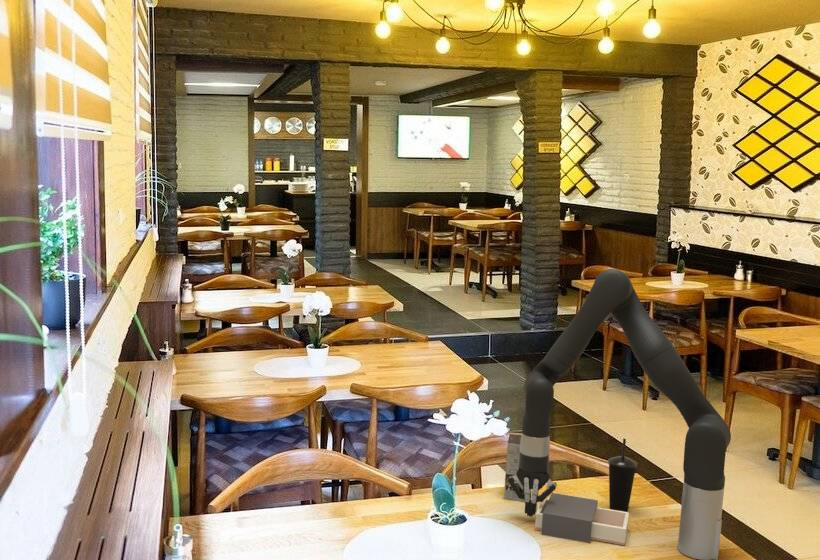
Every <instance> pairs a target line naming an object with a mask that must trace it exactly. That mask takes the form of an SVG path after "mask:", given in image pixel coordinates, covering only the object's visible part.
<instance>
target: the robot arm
mask: <svg viewBox="0 0 820 560" xmlns="http://www.w3.org/2000/svg"><path fill="white" fill-rule="evenodd" d="M610 314H611V315H612V316H613V317H614V319H615V320H616V322H617V323H618V325H619V326H620V328H621V330H622V331H623V334H624V335H625V337H626V340H627V342H628V345H629V346H630V347H629V348H630V349H631V351H632V354H633V355H634V357H635V358H636V361H637V362H638V364H639V365H640V367H641V368H642V370H643V371H644V373H645V375H646V376H647V378H648V379H649V381H650V382H651V383H652V384H653V386H655V388H656V389H657V390H658V391H660V393H662V394H663V395H664V396H665V397H666V398H667V399H669V400H670V401H671V403H673V405H674V406H675V407H676V409H677V410H678V411H679V412H680V415H681V416H682V418H683V419H684V421H685V423H686V425H687V427H688V429H687V431H686V434H685V438H684V449H683V450H684V451H683V463H682V464H683V465H682V468H683V469H682V470H683V476H684V477H683V485H682V496H681V505H680V507H681V508H680V517H679V518H680V519H679V526H678V527H679V530H678V539H677V550H678V551H679V553H681V554H683V555H685V556H686V557H689V558H691V559H695V560H696V559H697V560H719V554H720V543H721V533H722V523H723V520H722V514H723V506H724V505H723V504H724V496H725V495H724V494H725V485H726V476H725V463H726V452H727V448H728V447H729V445H730V443H731V438H732V434H731V433H732V432H731V429H730V427H729V425H728V424H727V422H726V421H725V419H724V418H723V417H722V416H721V414H720V413H719V412H718V411H717V410H716V409H715V407H714V406H713V405H712V404H711V402H710V401H709V400H708V398H707V397H706V396H705V394H704V392H703V391H702V390H701V388H700V387H699V385H698V383H697V382H696V380H695V378H694V376H693V375H692V373H691V372H690V370H689V369H688V367H687V365H686V363H685V362H684V360H683V359H682V356H681V355H680V353H679V352H678V351H677V349H676V348H675V346H674V344H673V343H672V342H671V340H670V339H669V338H668V336H667V335H666V333H664V331H663V330H662V329H661V327H660V326H659V325H658V324H657V323H656V322H655V321H654V319H653V318H652V317H651V315H649V313H648V312H647V310H646V309H645V307H644V305H643V303H642V301H641V300H640V298H639V296H638V294H637V291H636V289H635V287H634V286H633V283H632V281H631V279H630V277H629V276H628V275H627V274H626V273H625V272H623V271H622V270H620V269H616V268H609V269H606V270H603V271H601V272H600V273H599V274H598V275H597V276H596V277H595V279H594V281H593V285H592V287H591V288H590V291H589V292H588V294H587V296H586V298H585V300H584V302H583V303H582V306H581V307H580V308H579V310H578V312H577V313H576V315H575V316H574V318H572V320H571V321H570V323H569V324H568V325H567V326H566V328H565V329H564V330H563V332H561V334H560V335H559V336H558V338H557V339H556V341H555V342H554V344H553V345H552V346H551V347H550V349H549V351H548V352H547V353H546V355H545V356H544V357H543V359H542V360H541V361H540V362H539V363H538V364H536V365H535V367H534V368H533V369H532V371H530V373H529V374H528V375H527V377H526V378H525V381H524V384H523V385H524V387H523V388H524V392H525V409H524V411H525V412H524V413H523V417H522V429H521V430H522V431H521V435H522V436H521V441H520V455H519V468H518V471H517V472H516V474H515V475H514V476H510V477H509V479H508V482H509V484H510V485H511V487H512V488H513V490H514V491H515V493H516V494H517V496H518V498H519V499H523V500H524V501H523V502H524V513H525V514H526V516H527V517H531V518H532V517H533V516H534V515H535V516H536V513H537V510H538V509H537V506H538V503H541V502H543V501H544V500H545V499H548V497H550V496H551V493H554V491H555V490H556V489H557V486H558V484H557V482H554V481H552V479H550V474H549V463H550V462H549V461H550V449H551V448H550V447H551V444H550V443H551V442H550V441H551V439H550V437H551V436H550V434H551V431H550V430H551V414H552V411H553V406H554V396H555V389H554V386H555V384H556V383H557V382H558V381H559V379H560V378H561V377H562V376H564V375H566V374H568V373H569V372H570V371H571V370H572V368H573V367H574V366H575V363H577V362H578V360H579V359H580V358H581V356H582V354H583V352H584V351H585V350H586V348H587V347H588V345H589V343H590V341H591V339H592V338H593V336H594V334H595V333H596V332H597V330H598V329H599V327H600V326H601V324H602V323H603V322H604V321H605V320H606V318H607V317H608V316H609V315H610ZM518 479H519V481H520V482H521V484H522V486H523V487H524V491H523V490H522V488H521V487H520V485H519V484H518ZM545 485H546V488H545V490H544V491H543V492H542V493H541V494H540V495H539V492H540V490H541V489H542V488H543V487H544V486H545Z"/></svg>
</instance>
